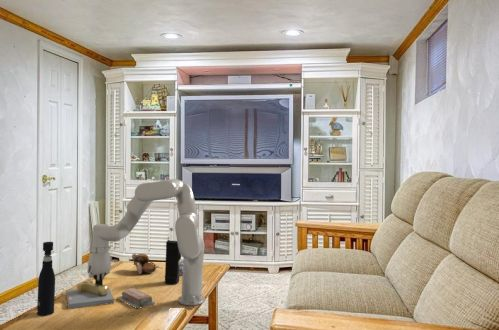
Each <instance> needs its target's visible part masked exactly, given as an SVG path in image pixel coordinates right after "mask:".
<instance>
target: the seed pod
mask: <svg viewBox="0 0 499 330" xmlns="http://www.w3.org/2000/svg"><path fill="white" fill-rule="evenodd" d="M131 257H132V261H133V265H134V266H135V268H136V271H137V274H138V275H142V274H143V272H144V273H147V274H152V273H154V272H155V271H156V269H162V270H163V269H164V268H163V267H161V266H158V265H156V264H155V263H153V261H152V260H151V259H149V255H147V254H146V253H137V254H136V253H132V256H131Z"/></svg>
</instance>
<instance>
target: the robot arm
mask: <svg viewBox="0 0 499 330" xmlns="http://www.w3.org/2000/svg"><path fill="white" fill-rule="evenodd" d="M171 198H172V199H173V198H175V199H176V204H177V211H178V216H179V217H177V218H176V221H175V224H174V229H175V236H176V241H177V243H178V248H179V252H180V254H181V258H182V257H183V258H182V260H183V273H182V274H181V275H182V281H181V296H179V297H178V299H177V302H178V303H179V304H181V305H185V306H198V305H202V304H203V303H205V301H206V299H205V297H204V296H202V295H203V274H204V273H203V272H204V271H203V268H204V259H205V258H204V256H205V248H206V247H205V241H204V239H203V237H202V236H200V235H198V232H197V230H198V229H199V226H200V219H199V216H198V215H199V214H198V211H197V205H196V200H195V196H194V193H193V190H192V188H191V186H190V185H189V184H188V183H187V182H185V181H183V180H180V179H176V178H170V179H165V180H159V181H153V182H152V181H151V182H143V183H140V184H139V185H137V186H136V187H135V189H134V196H133V197H132V198H131V200H130V201H129V202H128V203H127V205H126V212H125V214H124V216H122V218H121V219H120V221H119V222H118V223H116V224H114V225H111V226H110V225H109V224H106V223H98V224H94V225H93V228H92V244H91V245H92V246H91V252H90V253H89V257H88V261H87V262H88V263H87V274H88V278H91V279H94V280H95V281H94V282H95V283H94V284H98V285H104V284H103V280H104V279H105V277H106V276H107V275H109V274H110V272H111V268H112V267H111V266H112V263H111V254H110V253H111V252H110V251H109V250H110V249H111V247H112V246H110V242H114V243H115V242H118V241H120V240H122V239H124V238H126V237H127V236H128V235H130V233H131V232H132V231H133V230H134V228H135V227H136V226H137V224H138V223H139V221H140V219H141V217H142V216H143V214H144V213H146V210H147V209H148V208H149V206H150V205H151V204H152V203H153V202H154V201H159V200H161V201H162V200H168V199H171Z"/></svg>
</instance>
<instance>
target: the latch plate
mask: <svg viewBox="0 0 499 330" xmlns="http://www.w3.org/2000/svg"><path fill="white" fill-rule="evenodd" d="M65 291H66V292H65V293H66V301H67V307H68V309H69V310H70V309H77V308H85V307H94V306H93V305H95V306H101V305H100V304H104V305H107V304H106V303H112V304H114V303H115V298H114V296H113V294H112V292H111V289H110V287H108V290H107V295H105V296H99V295H98V294H94V293H90V292H87V291H83V292H78V291H77V288H76V289H67V290H65Z"/></svg>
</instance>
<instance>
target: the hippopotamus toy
mask: <svg viewBox="0 0 499 330" xmlns="http://www.w3.org/2000/svg"><path fill="white" fill-rule="evenodd" d="M179 275H183V259H181V260H180V267H179Z"/></svg>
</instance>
